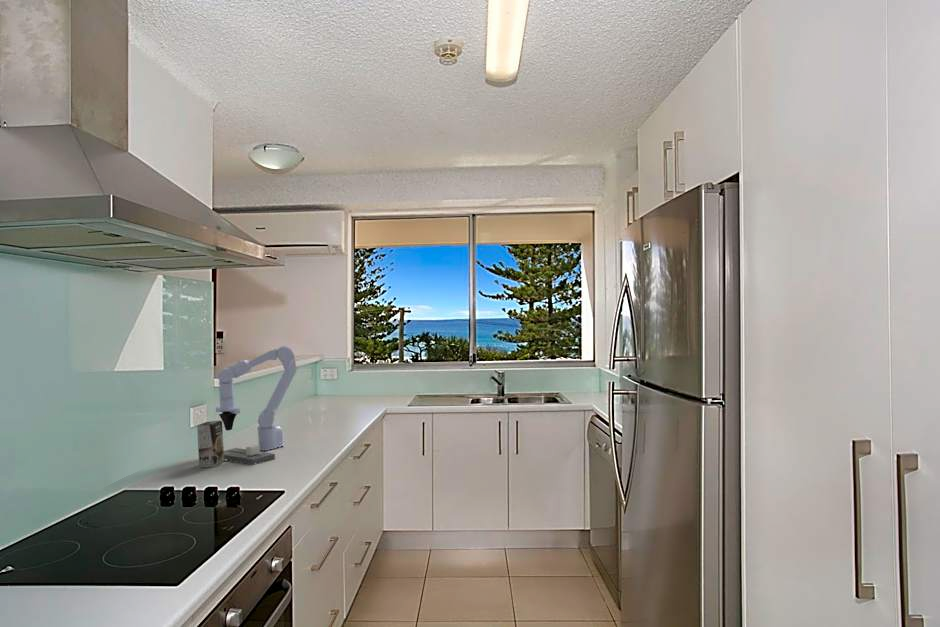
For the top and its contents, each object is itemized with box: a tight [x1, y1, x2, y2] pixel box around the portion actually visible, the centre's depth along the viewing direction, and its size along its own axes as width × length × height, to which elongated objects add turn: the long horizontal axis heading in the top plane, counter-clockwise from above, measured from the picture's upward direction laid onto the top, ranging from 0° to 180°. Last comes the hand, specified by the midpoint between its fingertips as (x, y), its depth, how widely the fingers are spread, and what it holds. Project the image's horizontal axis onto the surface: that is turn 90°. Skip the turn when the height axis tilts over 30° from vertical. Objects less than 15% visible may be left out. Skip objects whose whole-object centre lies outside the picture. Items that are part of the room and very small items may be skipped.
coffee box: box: [196, 420, 225, 468], centre depth 250 cm, size 9×6×16 cm
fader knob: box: [245, 444, 261, 456], centre depth 254 cm, size 4×3×3 cm
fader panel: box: [224, 447, 276, 465], centre depth 257 cm, size 10×26×2 cm, turn 53°
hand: (228, 430), depth 270 cm, fingers closed
